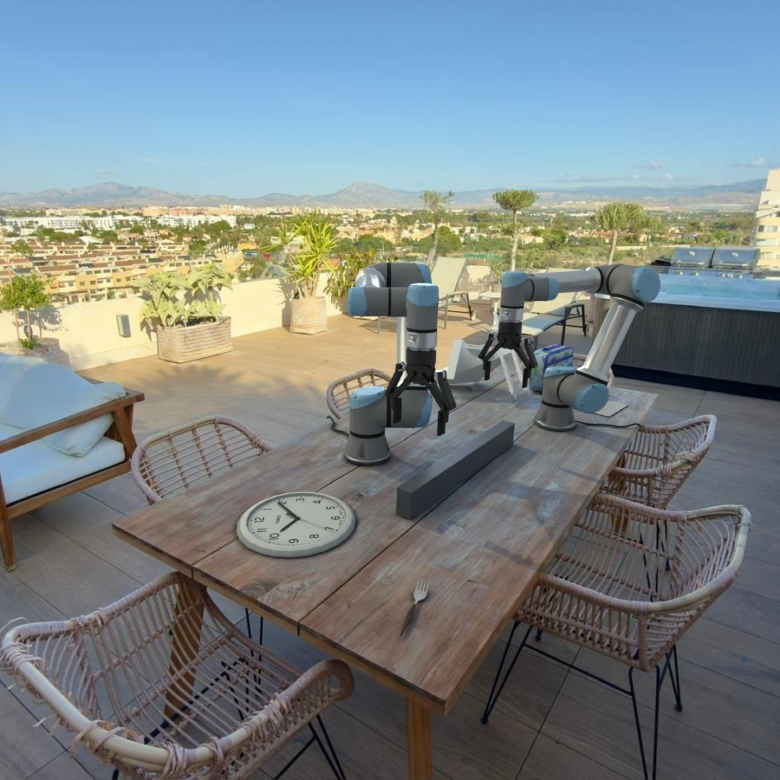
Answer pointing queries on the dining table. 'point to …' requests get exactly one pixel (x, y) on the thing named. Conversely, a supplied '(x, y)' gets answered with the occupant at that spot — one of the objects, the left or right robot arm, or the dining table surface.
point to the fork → (418, 596)
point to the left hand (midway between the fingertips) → (418, 428)
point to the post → (452, 470)
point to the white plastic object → (480, 363)
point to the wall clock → (296, 524)
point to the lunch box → (549, 363)
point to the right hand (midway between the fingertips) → (505, 383)
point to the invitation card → (611, 408)
